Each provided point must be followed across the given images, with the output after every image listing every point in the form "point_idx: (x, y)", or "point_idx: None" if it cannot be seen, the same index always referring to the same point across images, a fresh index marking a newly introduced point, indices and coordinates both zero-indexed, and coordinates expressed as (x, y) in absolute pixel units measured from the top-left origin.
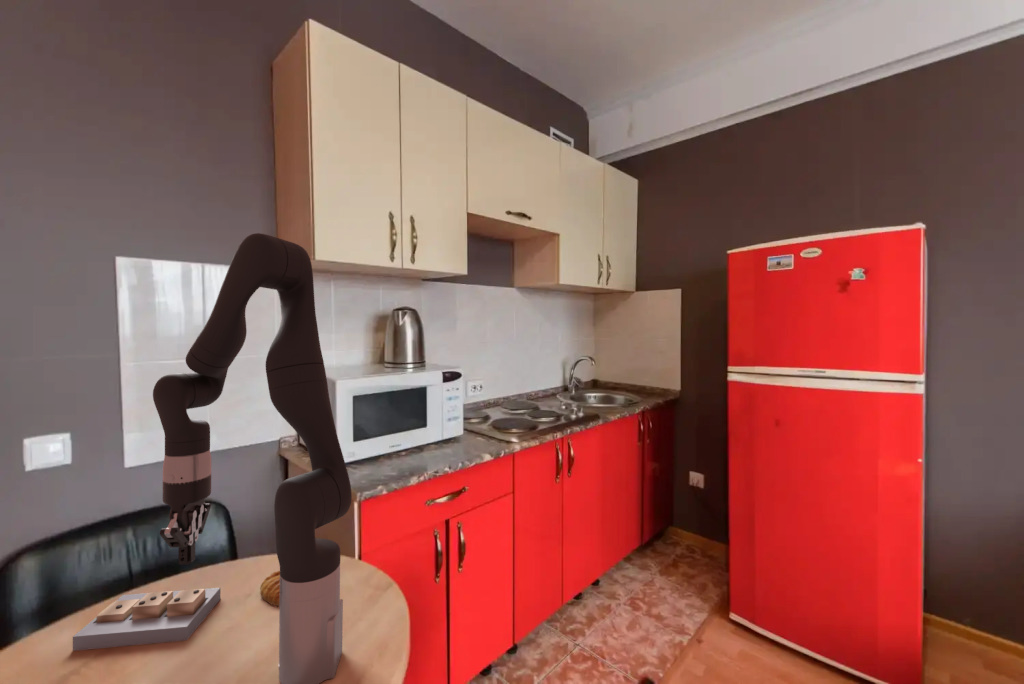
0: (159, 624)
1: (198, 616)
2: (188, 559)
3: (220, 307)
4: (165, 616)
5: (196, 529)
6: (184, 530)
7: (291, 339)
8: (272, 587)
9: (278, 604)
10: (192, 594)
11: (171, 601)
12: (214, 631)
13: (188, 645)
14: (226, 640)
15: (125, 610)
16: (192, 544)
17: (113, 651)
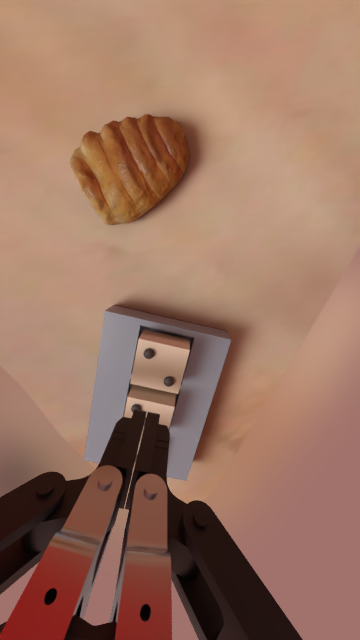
0: (203, 384)
1: (192, 328)
2: (160, 430)
3: None
4: None
5: (97, 545)
6: (141, 617)
7: None
8: (144, 184)
9: (183, 173)
10: (156, 358)
11: (170, 389)
12: (219, 292)
13: (242, 325)
14: (258, 265)
15: None
16: (139, 470)
17: (209, 418)
